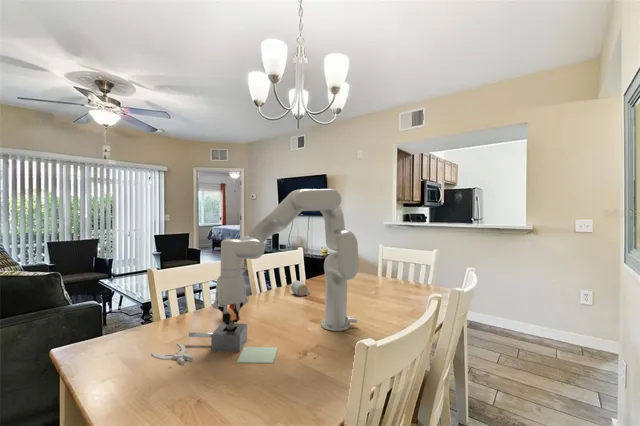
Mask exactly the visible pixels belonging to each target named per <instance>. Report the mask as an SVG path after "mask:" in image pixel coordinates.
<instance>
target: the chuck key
mask: <svg viewBox="0 0 640 426" xmlns="http://www.w3.org/2000/svg"><path fill="white" fill-rule="evenodd" d="M227 313H228V324H227V327H226V331H232V332H234V324H236V322H235V320H236V313H235V312H234V311H233V310H232V309H231V308H227Z"/></svg>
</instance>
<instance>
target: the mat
mask: <svg viewBox="0 0 640 426" xmlns="http://www.w3.org/2000/svg"><path fill="white" fill-rule="evenodd" d="M243 347H244V348H242V351H241V353H240V355H239V357H238V358H237V360H236V363H237V364H270V365H271V364H273V365H274V363H275V362H274V361H275V359H276V355H277V353H278V352H277V351H278V349H279V347H268V346H267V347H266V346H264V347H263V346H262V347H259V346H243Z"/></svg>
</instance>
